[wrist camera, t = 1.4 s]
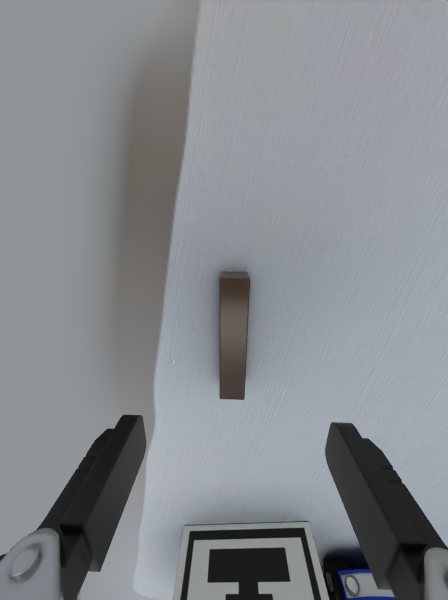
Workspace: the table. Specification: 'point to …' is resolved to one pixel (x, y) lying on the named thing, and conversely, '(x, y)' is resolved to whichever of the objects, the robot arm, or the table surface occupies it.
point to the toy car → (352, 583)
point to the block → (249, 563)
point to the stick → (233, 333)
